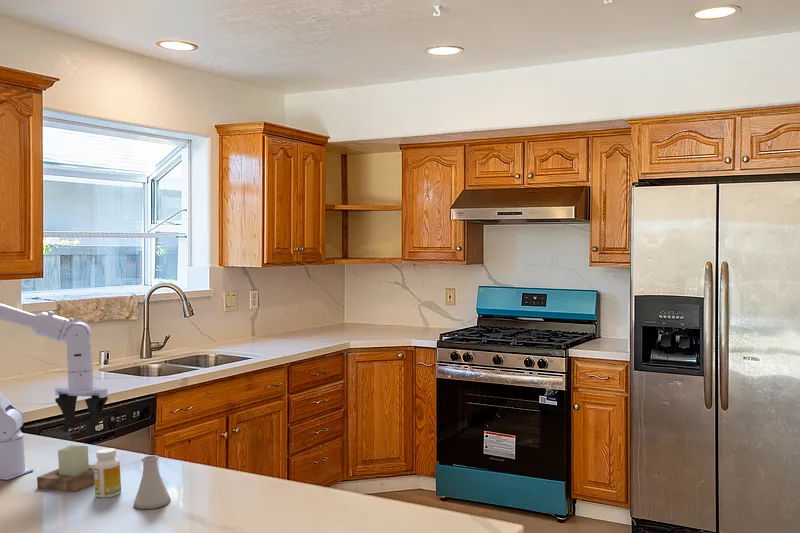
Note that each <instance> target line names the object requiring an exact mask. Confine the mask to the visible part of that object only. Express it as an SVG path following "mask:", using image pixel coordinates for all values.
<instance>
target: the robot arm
mask: <svg viewBox="0 0 800 533" xmlns="http://www.w3.org/2000/svg"><path fill="white" fill-rule="evenodd" d="M0 320H2V321H6V322H8V323H12V324H16V325H21V326H25V327H29V328H31V329H32V331H33V332H34V334H35V335H37V336H41V337H44V338H48V339H51V340H56V341H58V342H63V341H64V343H65V344H66V349H67V350H66V364H67V386H58V387H55V388H54V391H55V394H54V395H55V396H56V398H54V399H55V403H56V404H57V405H58V407H59V409H60V410H61V413H62V415H63V418H64V420H65V424H66V426H70V425H71V426H72V425H74V424H75V423H76V405H77V400H78V397H89V398H85V400H84V402H85V405H86V406H87V409H88V414H89V424H90V427H92V428H94V427H97V426H99V425H100V422H101V416H102V413H103V410H104V407H105V405H106V403H107V401H108V400H109V398H108V396H109V395H108V388H107V387H106V388H103V387H99V386H95V385H94V376H93V374H94V373H93V354H92V353H93V352H92V350H91V349H92V344H91V341H90V339H91V338H92V333H93V332H92V331H93V330H92V328H91V327H90V325H89V324H88V323H87V322H84V321H82V320H77V321H75V318H74V317H69V318H65V317H63V316H60V315H56V314H55V311H51V310H49V311H46V312H45V311H42V312H39V313H37V314H35V313H32V312H28V311H25V310H22V309H19V308H16V307H13V306H10V305H7V304H4V303H0ZM57 396H58V397H57ZM24 423H25V415H24V413H23V412H22V411H21V410H20V409H19V408H17V407H16V406H14V405H13V403H12V402H11V400H9V399H8V397H6V396H5V395H4V394H3V392H2V390H1V389H0V480H6V481H7V480H12V479H14V478H17V477H19V476H20V477H21V476H22V475H24V474H28V473H30V472H33V471H34V470H35V468H32V467H26V460H25V458H26V457H25V456H26V455H25V441H24V440H25V438H24V433H23V432H22V430H21V428H22V426H23V425H24Z"/></svg>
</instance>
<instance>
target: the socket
mask: <svg viewBox="0 0 800 533" xmlns="http://www.w3.org/2000/svg"><path fill="white" fill-rule="evenodd" d="M36 482H37V483H36V484H37V489H45V490H56V491H65V492H66V491H67V492H79V491H81V490H83V489H85V487H86V488H88V487H90V486H92V485H95V484H94V464H89V471H87V472H84V473H82V474H79V475H77V476H64V475H59V468H57V469H53V470H52V471H49V472H47V473H44V474H42V475H39V476H37V477H36ZM91 484H92V485H91ZM89 485H90V486H89ZM87 486H88V487H87Z"/></svg>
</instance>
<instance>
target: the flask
mask: <svg viewBox="0 0 800 533" xmlns="http://www.w3.org/2000/svg"><path fill="white" fill-rule="evenodd" d="M159 459H160V458H159V455H154V454H153V455H146V456H143V457H142V458H141V462H142V463H143V470H142V476H141V480H140V483H139V487H138V489H137V492H136V496H135V499H134V502H133V505H132V507H134V508H137V509H140V510H147V509H148V510H149V509H153V510H154V509H157V508H160V507H164V506H166V505H168V504H169V502H170V501H171V500H172V499H171V497H170V494H169V492H168V491H167V490H168V489H167V488H166V486H165V484H164V481H163V479H162V477H161V473H160V470H159V467H158V460H159Z"/></svg>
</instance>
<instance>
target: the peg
mask: <svg viewBox="0 0 800 533" xmlns="http://www.w3.org/2000/svg"><path fill="white" fill-rule="evenodd" d="M88 448H89V446H86V445H77V444H75V445H74V444H72V445H69V446H66V447H63V448H60V449H58V450H57V457H58V459H57V460H58V469H59V475H64V476H77V475H79V474H82V473H84V472H87V471H89V465H90V463H89V462H90V461H89V449H88Z"/></svg>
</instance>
